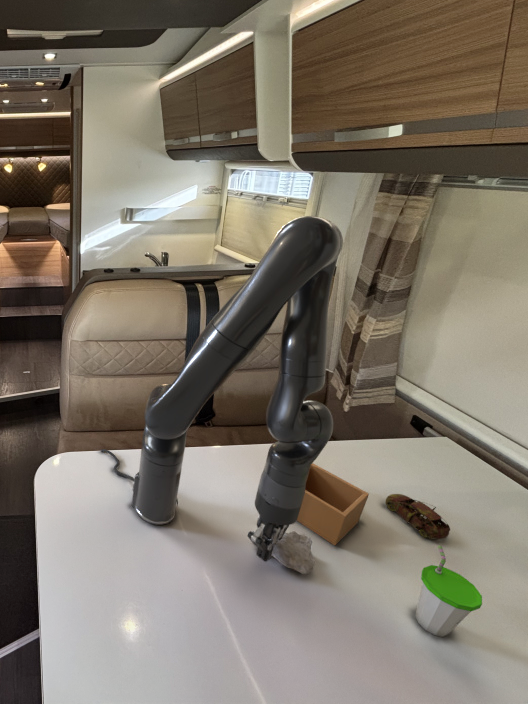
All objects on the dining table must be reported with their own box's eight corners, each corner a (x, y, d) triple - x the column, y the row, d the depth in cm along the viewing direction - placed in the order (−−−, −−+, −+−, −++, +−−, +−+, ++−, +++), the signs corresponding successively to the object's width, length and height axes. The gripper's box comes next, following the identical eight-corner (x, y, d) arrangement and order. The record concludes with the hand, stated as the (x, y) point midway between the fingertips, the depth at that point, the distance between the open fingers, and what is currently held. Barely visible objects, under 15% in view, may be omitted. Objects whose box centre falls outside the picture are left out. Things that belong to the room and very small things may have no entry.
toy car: (454, 539, 95) (462, 523, 93) (428, 544, 94) (436, 528, 92) (401, 498, 106) (408, 483, 104) (378, 502, 105) (384, 487, 103)
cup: (465, 656, 73) (501, 597, 67) (407, 631, 77) (436, 573, 71) (454, 616, 79) (486, 559, 74) (400, 595, 83) (427, 539, 77)
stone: (315, 581, 86) (322, 561, 83) (261, 568, 89) (266, 548, 86) (305, 548, 93) (311, 528, 91) (255, 537, 96) (260, 517, 94)
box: (334, 545, 93) (345, 516, 90) (273, 505, 104) (281, 477, 101) (358, 522, 99) (369, 493, 96) (298, 486, 110) (306, 459, 107)
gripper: (280, 468, 89) (264, 530, 95) (241, 494, 82) (227, 558, 88) (318, 491, 83) (298, 555, 89) (280, 520, 76) (261, 587, 83)
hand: (263, 557), depth 89 cm, fingers closed
